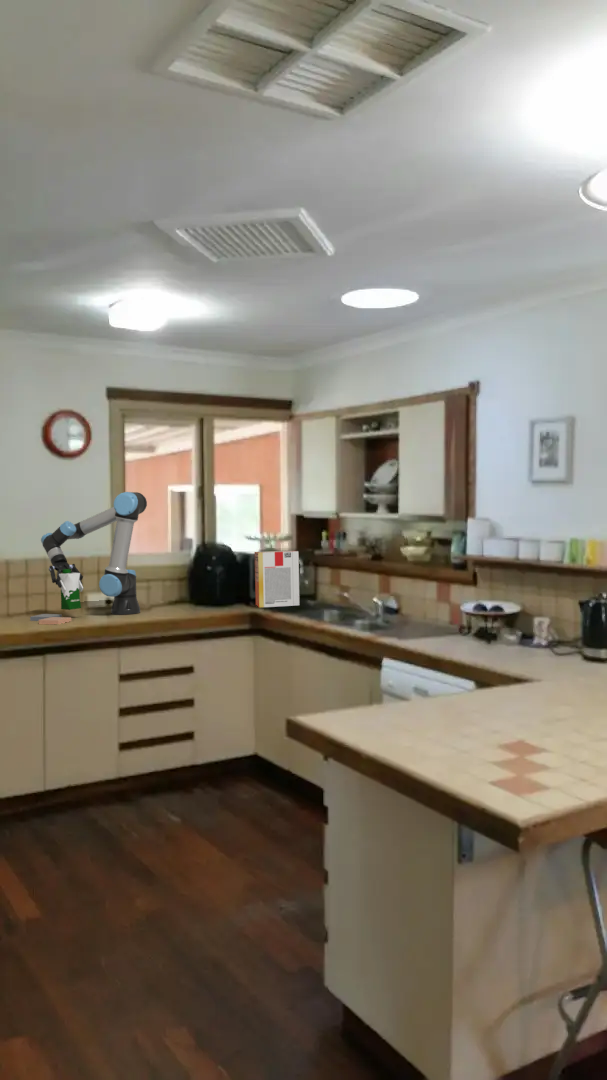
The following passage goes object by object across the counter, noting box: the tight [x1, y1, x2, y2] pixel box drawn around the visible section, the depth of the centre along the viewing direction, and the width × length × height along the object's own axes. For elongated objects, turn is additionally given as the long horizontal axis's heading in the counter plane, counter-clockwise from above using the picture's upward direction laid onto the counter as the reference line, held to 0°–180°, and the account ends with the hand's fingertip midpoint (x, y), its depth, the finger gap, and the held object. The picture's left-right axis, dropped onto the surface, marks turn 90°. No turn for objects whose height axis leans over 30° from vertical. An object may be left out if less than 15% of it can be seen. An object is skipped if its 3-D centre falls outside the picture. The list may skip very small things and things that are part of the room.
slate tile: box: [29, 613, 63, 622], centre depth 431 cm, size 11×11×2 cm
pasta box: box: [254, 550, 300, 609], centre depth 472 cm, size 23×8×30 cm, turn 107°
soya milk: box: [59, 569, 82, 611], centre depth 430 cm, size 9×9×20 cm
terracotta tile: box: [38, 616, 72, 625], centre depth 418 cm, size 11×11×2 cm
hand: (73, 590), depth 428 cm, fingers closed on soya milk, 9 cm apart
